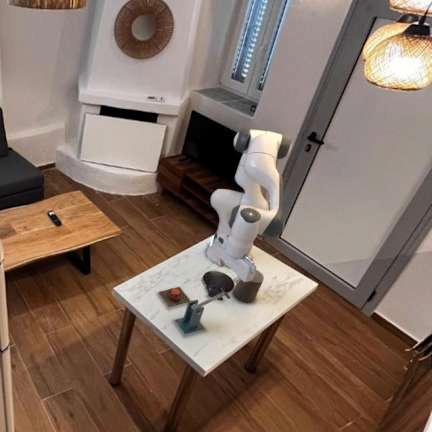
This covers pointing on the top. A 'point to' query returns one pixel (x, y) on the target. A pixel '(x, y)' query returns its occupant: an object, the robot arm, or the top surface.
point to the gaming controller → (214, 290)
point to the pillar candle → (248, 288)
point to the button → (175, 292)
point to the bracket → (191, 319)
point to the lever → (210, 299)
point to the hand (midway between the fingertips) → (228, 273)
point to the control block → (173, 300)
